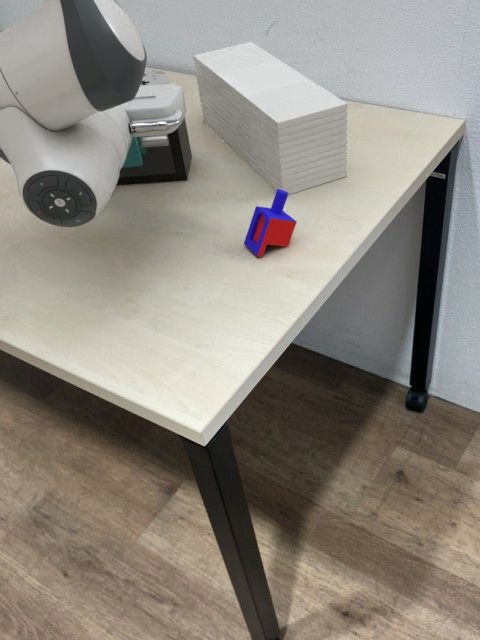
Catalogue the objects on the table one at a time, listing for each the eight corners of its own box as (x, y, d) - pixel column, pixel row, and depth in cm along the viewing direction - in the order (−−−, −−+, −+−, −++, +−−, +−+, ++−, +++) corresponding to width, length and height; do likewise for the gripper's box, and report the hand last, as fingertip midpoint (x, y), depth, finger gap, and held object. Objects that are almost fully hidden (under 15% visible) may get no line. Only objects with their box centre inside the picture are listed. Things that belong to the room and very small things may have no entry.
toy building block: (283, 258, 80) (304, 200, 76) (257, 256, 77) (277, 196, 73) (269, 246, 82) (289, 189, 78) (243, 243, 79) (262, 184, 75)
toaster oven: (184, 194, 90) (171, 127, 83) (91, 201, 91) (70, 135, 84) (192, 156, 99) (180, 93, 92) (107, 162, 99) (89, 100, 92)
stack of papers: (346, 176, 91) (347, 103, 83) (282, 196, 88) (277, 122, 80) (257, 105, 111) (251, 41, 104) (203, 120, 109) (193, 55, 101)
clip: (143, 166, 85) (121, 76, 77) (112, 168, 85) (86, 79, 77) (148, 150, 88) (127, 62, 80) (118, 152, 89) (94, 65, 80)
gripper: (175, 98, 68) (186, 56, 78) (-3, 112, 69) (30, 69, 79) (185, 152, 73) (195, 106, 83) (18, 165, 74) (47, 117, 83)
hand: (113, 88), depth 81 cm, fingers closed on clip, 4 cm apart
